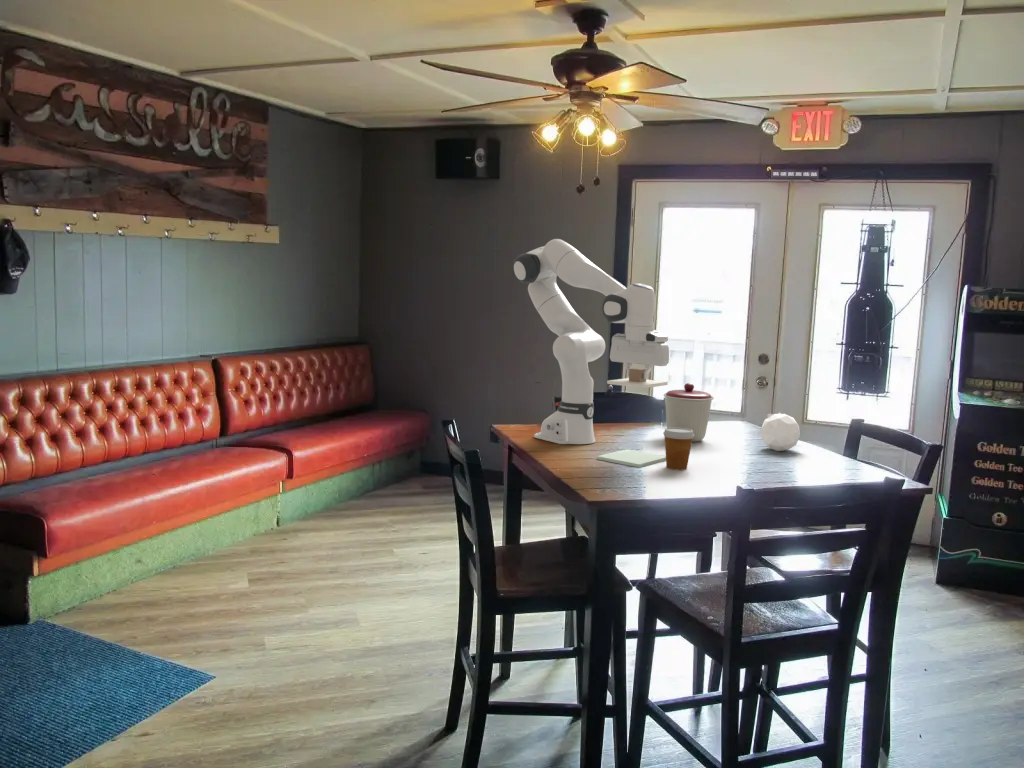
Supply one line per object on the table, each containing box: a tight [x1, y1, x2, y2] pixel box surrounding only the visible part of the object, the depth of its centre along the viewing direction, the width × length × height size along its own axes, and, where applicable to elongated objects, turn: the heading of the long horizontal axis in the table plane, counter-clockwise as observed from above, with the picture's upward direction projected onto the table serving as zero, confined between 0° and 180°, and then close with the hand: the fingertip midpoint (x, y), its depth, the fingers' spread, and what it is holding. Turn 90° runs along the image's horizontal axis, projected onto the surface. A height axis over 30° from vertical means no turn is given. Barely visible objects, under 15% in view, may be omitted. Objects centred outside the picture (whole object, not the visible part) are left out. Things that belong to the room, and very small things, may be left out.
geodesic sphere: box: [760, 411, 801, 452], centre depth 305 cm, size 14×14×14 cm
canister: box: [663, 382, 714, 443], centre depth 318 cm, size 18×18×21 cm
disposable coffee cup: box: [662, 427, 694, 471], centre depth 270 cm, size 10×10×12 cm
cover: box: [606, 367, 669, 389], centre depth 278 cm, size 14×14×5 cm
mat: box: [596, 448, 666, 468], centre depth 281 cm, size 16×18×1 cm
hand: (637, 378), depth 278 cm, fingers closed on cover, 4 cm apart
